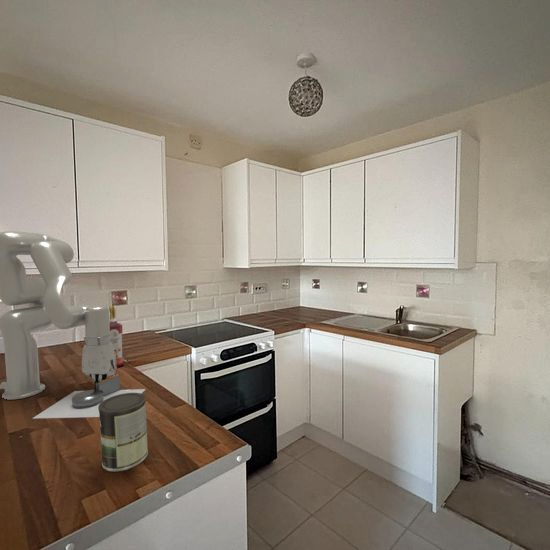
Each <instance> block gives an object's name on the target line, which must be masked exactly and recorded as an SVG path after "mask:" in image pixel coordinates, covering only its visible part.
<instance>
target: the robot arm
mask: <svg viewBox="0 0 550 550" xmlns="http://www.w3.org/2000/svg"><path fill="white" fill-rule="evenodd" d="M17 256H30V257H31V259H32V262H33V263H34V266H35V267H36V269H37V271H38V273H39V275H40V276H41V278H42V279H40V278H28V276H27V271H26V267H25V265H24V263H23V262H22V261H21V259H19V258H18V257H17ZM74 257H75V253H74V249H73V248H72V246H71V245H70V244H69V243H67V242H65V241H63V240H60V239H57V238H54V237H52V236H49V235H46V234H42V233H38V232H37V233H35V232H25V231H15V230H12V231H11V230H8V231H1V232H0V301H1V302H2V304H4V305H6V306H11V307H12V306H13V307H14V306H21V305H22V306H23V305H28V306H29V307H22V308H21V307H20V308H17V309H12V310H8V311H6V312H4V313H3V314H2V315H0V333H1V337H2V340H3V347H4V361H5V372H6V373H5V374H6V381H2V382H0V390H4V392H3V393H2V394H1V396H2V399H3V398H4V399H3V400H6V399H7V400H9V401H10V400H12V401H13V400H20V399H25V398H30V397H32V396H35V395H38V394H40V393H42V392H43V391H44V390H45V389H46V385H45V384H44V383H41V380H40V366H39V354H38V353H39V351H38V343H37V339H35V337H34V336H33V335H32V333H33V332H37V331H41V330H45V329H47V328H49V327H50V326H51V325H52V324H53V326H54V327H56V328H57V329H60V330H69V329H74V328H77V327H81V326H84V330H85V333H84V334H85V337H83V341H85V344H84V345H83V348H82V353H81V372H82V373H84V374H85V376H89V377H90V378H91V379H92V382H94V389H96V383H97V382H99V381H100V380H103V379H106V378H107V377H109V376H112V375H114V371H113V370H114V368H115V359H114V351H113V347H112V343H110V324H109V323H110V310H109V306H107V305H103V304H98V305H93V304H88V303H82V304H81V303H80V304H74V305H69V306H67V305H66V304H65V302H64V300H63V297H62V292H61V291H62V289H63V287H64V286H65V285H67V284H69V283H70V282H71V281H72V279H73V274H72V272H71V270H70V269H69V267H68V265H67V264H68V263H71V262H72V261H73V259H74Z"/></svg>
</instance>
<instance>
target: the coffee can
mask: <svg viewBox="0 0 550 550" xmlns="http://www.w3.org/2000/svg"><path fill="white" fill-rule="evenodd" d="M146 397H147V396H146V395H145V394H143V393H142V394H140V393H125V394H119V395H116V396H113V397H110V398H108V399H106V400H104V401H103V402H101V403H100V405H99V407H98V409H99V417H98V418H99V429H100V430H99V431H100V444H101V446H100V447H101V466H102V469H103V470H105V471H108V472H115V473H116V472H124V471H127V470H129V469H130V470H131V469H132V468H135V467H136V466H138V465H139V464H141V463H142V462H143V461H145V460H146V459H147V457H148V454H149V450H148V431H147V428H148V427H147V411H146V409H147V408H146V401H147V399H146Z"/></svg>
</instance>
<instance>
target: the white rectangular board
mask: <svg viewBox="0 0 550 550" xmlns="http://www.w3.org/2000/svg"><path fill="white" fill-rule="evenodd" d="M146 390H147V389H145V388H139V389H119V390H117V391H114V392H112V393H110V394H107V395H105V396H103V397H104V399H103V401H104V400H106V399H108V398H110V397H113V396H116V395H119V394H125V393H140V394H143V392H145V391H146ZM83 391H84V390H74V391H73V392H71V393H70V394H68V395H67V396H65V397H63V398H62V399H60V400H58V401H57V402H55V403H53V405H50V406H49V407H48V408H46V409H45V410H43V411H41V412H40V413H39V414H36V415H35V416H34V417H32V418H31V419H33V420H34V419H35V420H36V419H70V418H71V419H72V418H74V419H75V418H76V419H77V418H100V417H99V409H98V407H99V405H100V403H101V402H100V403H98V404H96V405H93V406H90V407H85V408H74V407H73V406H72V397H73V396H74V395H76V394H78V393H80V392H83ZM103 401H102V402H103Z"/></svg>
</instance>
